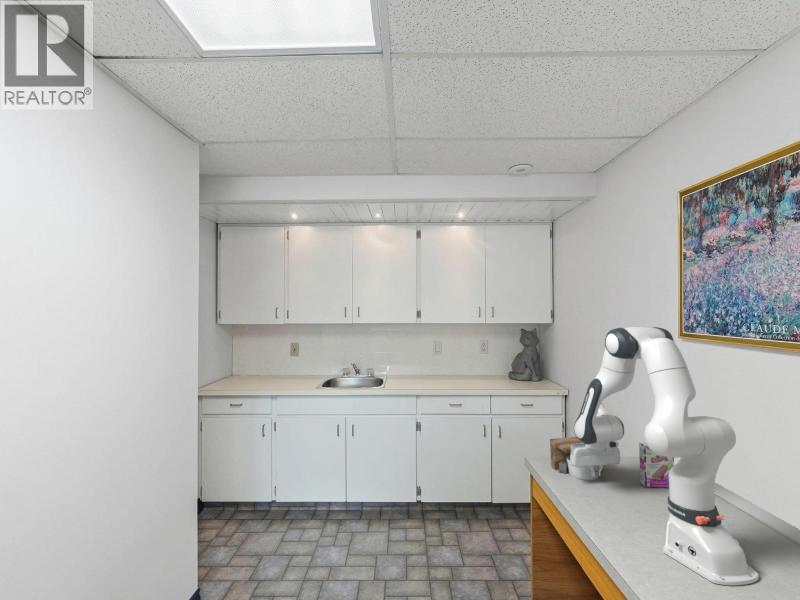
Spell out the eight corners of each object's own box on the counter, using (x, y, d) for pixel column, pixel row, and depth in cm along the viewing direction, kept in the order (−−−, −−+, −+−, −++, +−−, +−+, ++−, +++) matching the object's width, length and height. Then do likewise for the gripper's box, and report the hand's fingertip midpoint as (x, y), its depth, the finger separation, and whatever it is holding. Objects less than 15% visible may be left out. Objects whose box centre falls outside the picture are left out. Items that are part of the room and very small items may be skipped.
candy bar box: (645, 488, 161) (644, 446, 161) (639, 482, 166) (638, 442, 166) (675, 488, 160) (674, 446, 160) (668, 483, 165) (667, 442, 165)
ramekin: (560, 472, 179) (559, 456, 179) (584, 467, 183) (583, 451, 183) (583, 484, 166) (582, 467, 166) (608, 478, 171) (607, 462, 171)
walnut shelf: (609, 475, 173) (608, 446, 173) (567, 479, 171) (566, 449, 171) (590, 463, 187) (589, 436, 187) (550, 466, 185) (550, 438, 185)
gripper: (574, 446, 163) (576, 481, 162) (622, 442, 165) (623, 477, 165) (566, 441, 169) (567, 474, 169) (612, 437, 171) (613, 470, 171)
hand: (595, 475), depth 167 cm, fingers closed
